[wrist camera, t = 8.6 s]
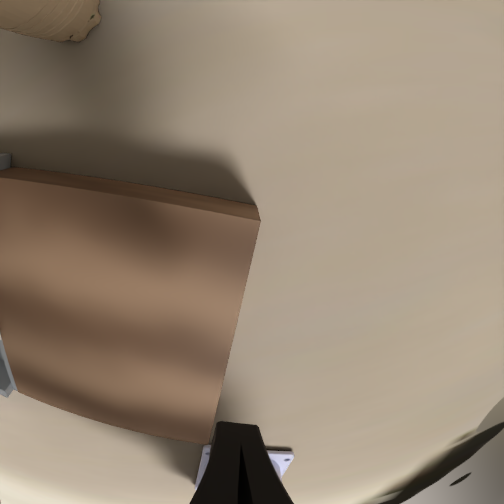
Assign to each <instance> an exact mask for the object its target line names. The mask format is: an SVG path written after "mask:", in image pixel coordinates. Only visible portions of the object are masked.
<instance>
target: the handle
mask: <svg viewBox="0 0 504 504" xmlns="http://www.w3.org/2000/svg"><path fill="white" fill-rule="evenodd" d="M99 3H100V1H99V0H0V28H2V29H5V30H8V31H12V32H15V33H19V34H22V35H27V36H31V37H35V38H41V39H47V40H52V41H57V42H64V41H66V40H72V41H76V42H80V41H82V40H83V39H85V38H86V37H87V34H88V33H89V31H90V30H91V29H92V28H93V27H95V26H96V25H98V24H99V22H100V20H101V16H100V15H99V12H98V5H99Z"/></svg>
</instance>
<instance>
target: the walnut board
mask: <svg viewBox="0 0 504 504" xmlns="http://www.w3.org/2000/svg"><path fill="white" fill-rule="evenodd" d="M260 222H261V220H260V216H259V212H258V208H257V206H256V205H251V204H246V203H241V202H236V201H231V200H226V199H221V198H215V197H210V196H205V195H199V194H194V193H188V192H183V191H177V190H171V189H166V188H160V187H154V186H148V185H142V184H136V183H129V182H123V181H117V180H110V179H103V178H97V177H90V176H83V175H75V174H68V173H61V172H53V171H45V170H37V169H28V168H19V167H11V168H8V169H4V170H0V333H1V337H2V341H3V345H4V349H5V352H6V356H7V359H8V363H9V366H10V369H11V372H12V375H13V378H14V381H15V384H16V387H17V390H18V392H20V393H22V394H24V395H26V396H29V397H31V398H34V399H36V400H39V401H41V402H44V403H46V404H49V405H51V406H54V407H57V408H59V409H62V410H65V411H68V412H71V413H74V414H77V415H80V416H83V417H86V418H89V419H92V420H96V421H99V422H102V423H106V424H109V425H113V426H117V427H120V428H124V429H128V430H132V431H136V432H141V433H145V434H149V435H154V436H159V437H164V438H169V439H174V440H180V441H186V442H192V443H198V444H205V445H208V443H209V439H210V435H211V431H212V426H213V422H214V418H215V414H216V410H217V405H218V401H219V397H220V393H221V388H222V384H223V380H224V376H225V371H226V367H227V363H228V359H229V354H230V350H231V346H232V342H233V337H234V333H235V329H236V325H237V320H238V316H239V312H240V308H241V303H242V299H243V295H244V291H245V286H246V282H247V278H248V274H249V269H250V265H251V261H252V256H253V252H254V248H255V244H256V239H257V235H258V231H259V227H260Z"/></svg>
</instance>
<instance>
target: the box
mask: <svg viewBox="0 0 504 504" xmlns="http://www.w3.org/2000/svg"><path fill="white" fill-rule="evenodd" d="M8 168H11V154H9V153H0V170H4V169H8ZM0 335H1V333H0ZM1 339H2V337H1ZM13 389H14V390H16V391H18V390H17V387H16V384H15V381H14V378H13V375H12V372H11V369H10V366H9V363H8V359H7V356H6V352H5V349H4V345H3V341H2V340H0V394H1V395H3V396H5V397H7V398H8V397H9V395H10V394H11V392H12V391H13Z"/></svg>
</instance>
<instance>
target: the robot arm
mask: <svg viewBox="0 0 504 504" xmlns="http://www.w3.org/2000/svg"><path fill="white" fill-rule="evenodd" d="M293 458H294V453H293V452H291V451H270V450H266V447H265V445H264V442H263V439H262V436H261V433H260V430H259V427H258V426H257V425H250V424H241V423H232V422H224V421H220V422H217V424H216V428H215V432H214V436H213V440H212V444H211V445H205V446H204V447H203V451H202V456H201V460H200V465H199V470H198V474H197V479H196V483H195V490H196V492H195V494H194V496H193V498H192V500H191V502H190V504H294V503H293V502H292V500H291V498H290V497H289V495H288V493H287V492H286V490H285V488H284V486H283V484H282V478H281V477H282V475H283V474H284V472H285V471H286V469H287V468H288V466H289V464H290V463H291V461H292V460H293Z"/></svg>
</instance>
